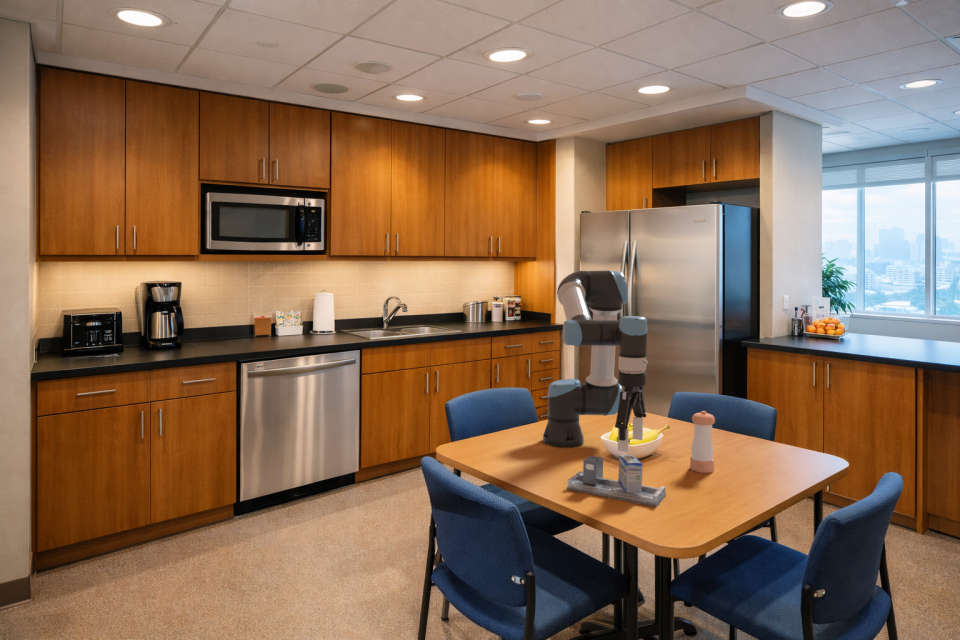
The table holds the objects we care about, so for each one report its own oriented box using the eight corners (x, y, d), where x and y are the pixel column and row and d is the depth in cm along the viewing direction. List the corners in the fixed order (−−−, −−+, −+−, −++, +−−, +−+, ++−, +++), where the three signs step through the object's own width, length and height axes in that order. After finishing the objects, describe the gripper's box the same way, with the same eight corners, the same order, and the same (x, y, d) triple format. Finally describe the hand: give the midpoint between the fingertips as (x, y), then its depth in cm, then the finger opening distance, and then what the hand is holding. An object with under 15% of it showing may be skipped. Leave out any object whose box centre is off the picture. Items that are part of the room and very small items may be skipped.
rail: (567, 489, 179) (567, 460, 179) (580, 479, 188) (580, 451, 187) (656, 507, 166) (657, 475, 165) (665, 495, 175) (666, 465, 174)
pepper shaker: (718, 472, 195) (720, 413, 194) (697, 473, 194) (698, 414, 193) (706, 465, 202) (708, 408, 201) (685, 466, 201) (687, 408, 200)
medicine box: (617, 483, 179) (618, 454, 178) (632, 483, 179) (633, 454, 178) (626, 493, 171) (627, 463, 170) (642, 493, 171) (642, 462, 171)
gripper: (632, 379, 160) (630, 459, 162) (657, 366, 181) (655, 436, 183) (604, 376, 163) (602, 454, 165) (632, 364, 185) (630, 433, 187)
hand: (630, 445), depth 174 cm, fingers open, 13 cm apart
